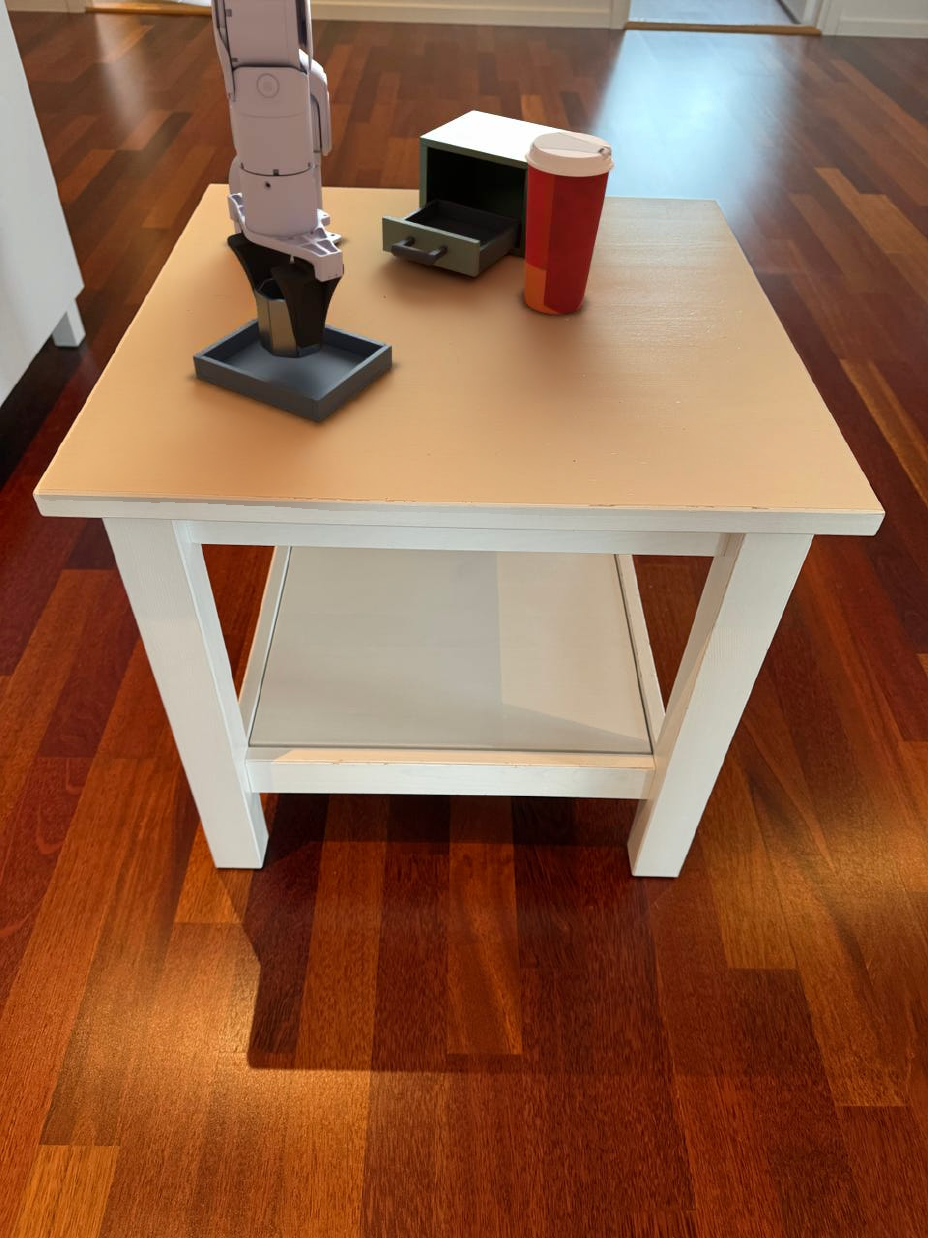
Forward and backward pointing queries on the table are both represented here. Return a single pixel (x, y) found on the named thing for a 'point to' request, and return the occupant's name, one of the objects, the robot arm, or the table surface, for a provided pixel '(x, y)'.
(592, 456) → the table surface
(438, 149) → the cabinet
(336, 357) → the tray
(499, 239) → the drawer
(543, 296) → the coffee cup
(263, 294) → the faceted metal cup
